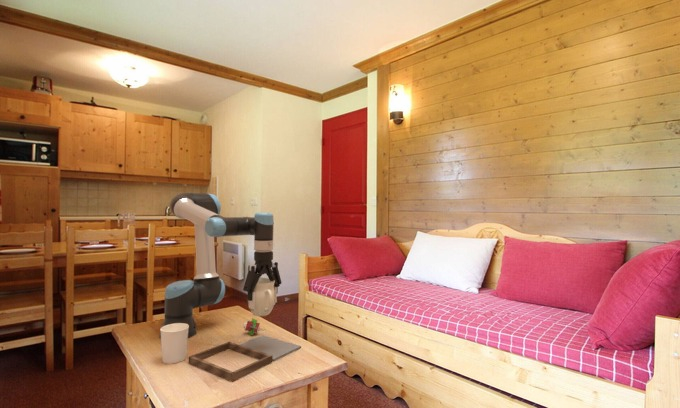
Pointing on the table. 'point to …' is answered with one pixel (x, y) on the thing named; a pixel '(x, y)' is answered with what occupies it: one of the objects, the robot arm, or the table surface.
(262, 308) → the pitcher
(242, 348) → the frame
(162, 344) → the candle holder
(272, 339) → the slate board
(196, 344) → the table surface
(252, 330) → the geometric puzzle
